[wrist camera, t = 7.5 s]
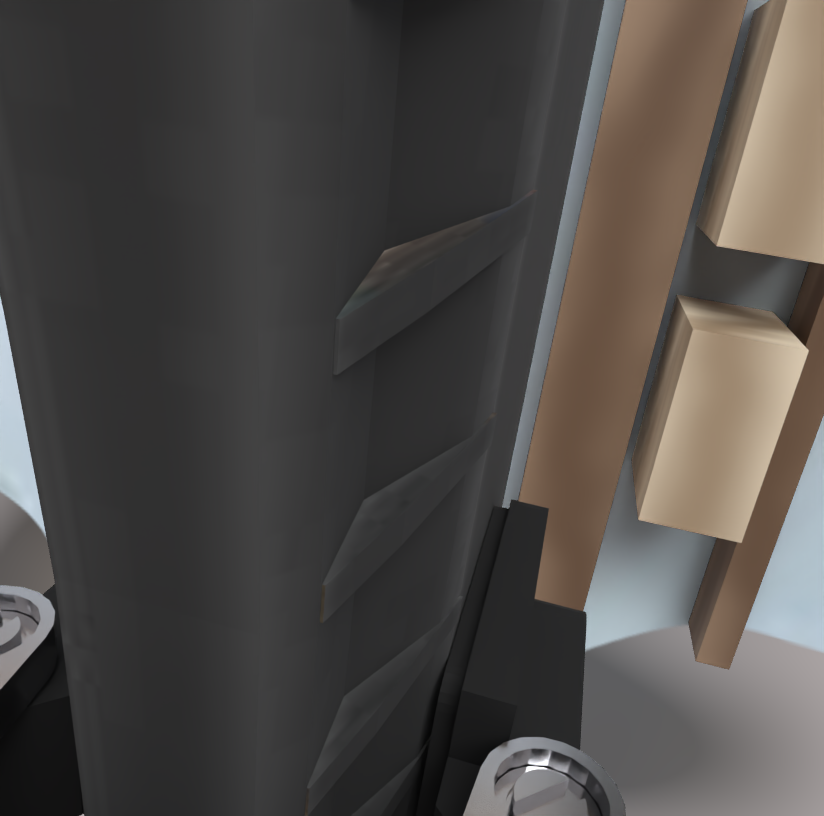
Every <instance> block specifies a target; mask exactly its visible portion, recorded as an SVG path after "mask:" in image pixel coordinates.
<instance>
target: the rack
mask: <svg viewBox="0 0 824 816" xmlns="http://www.w3.org/2000/svg"><path fill="white" fill-rule="evenodd" d="M747 1H748V0H626V2H625V6H624V11H623V16H622V20H621V25H620V30H619V34H618V39H617V43H616V48H615V53H614V57H613V62H612V67H611V71H610V76H609V81H608V85H607V90H606V95H605V99H604V104H603V109H602V113H601V118H600V122H599V127H598V132H597V136H596V141H595V146H594V150H593V155H592V160H591V164H590V169H589V174H588V178H587V183H586V187H585V192H584V197H583V201H582V206H581V211H580V215H579V220H578V225H577V229H576V234H575V239H574V243H573V248H572V253H571V257H570V262H569V266H568V271H567V276H566V280H565V285H564V290H563V294H562V299H561V304H560V308H559V313H558V318H557V322H556V327H555V331H554V336H553V341H552V345H551V350H550V355H549V359H548V364H547V369H546V373H545V378H544V383H543V387H542V392H541V396H540V401H539V406H538V410H537V415H536V420H535V424H534V429H533V434H532V438H531V443H530V448H529V452H528V457H527V462H526V466H525V471H524V475H523V480H522V485H521V489H520V494H519V499H518V501H520V502H524V503H528V504H533V505H537V506H541V507H545V508H549V512H548V518H547V524H546V530H545V537H544V543H543V549H542V555H541V562H540V568H539V574H538V580H537V587H536V593H535V599H537V600H541V601H545V602H549V603H553V604H557V605H561V606H564V607H568V608H572V609H576V610H580V611H583V609H584V606H585V602H586V598H587V595H588V591H589V587H590V583H591V580H592V576H593V572H594V569H595V565H596V561H597V557H598V554H599V550H600V546H601V543H602V539H603V535H604V531H605V528H606V524H607V520H608V517H609V513H610V509H611V506H612V502H613V498H614V494H615V491H616V487H617V483H618V480H619V476H620V472H621V468H622V465H623V461H624V457H625V454H626V450H627V446H628V442H629V439H630V435H631V431H632V428H633V424H634V420H635V416H636V413H637V409H638V405H639V402H640V398H641V394H642V390H643V387H644V383H645V379H646V376H647V372H648V368H649V364H650V361H651V357H652V353H653V350H654V346H655V342H656V338H657V335H658V331H659V327H660V324H661V320H662V316H663V312H664V309H665V305H666V301H667V298H668V294H669V290H670V287H671V283H672V279H673V275H674V272H675V268H676V264H677V261H678V257H679V253H680V249H681V246H682V242H683V238H684V235H685V231H686V227H687V223H688V220H689V216H690V212H691V209H692V205H693V201H694V197H695V194H696V190H697V186H698V183H699V179H700V175H701V171H702V168H703V164H704V160H705V157H706V153H707V149H708V145H709V142H710V138H711V134H712V131H713V127H714V123H715V119H716V116H717V112H718V108H719V105H720V101H721V97H722V94H723V90H724V86H725V82H726V79H727V75H728V71H729V68H730V64H731V60H732V56H733V53H734V49H735V45H736V42H737V38H738V34H739V30H740V27H741V23H742V19H743V16H744V12H745V8H746V4H747ZM788 329H789V330H790V331H791V332H792V333H793V334H794V335H795V336H796V337H797V338H798V339H799V340H800V342H801V343H802V344H803V345H804V346H805V347H806V348H807V349H808V350H809V352H808V355H807V358H806V360H805V363H804V366H803V369H802V372H801V375H800V378H799V380H798V383H797V386H796V389H795V392H794V395H793V398H792V400H791V403H790V406H789V409H788V412H787V415H786V417H785V420H784V423H783V426H782V429H781V432H780V435H779V437H778V440H777V443H776V446H775V449H774V452H773V454H772V457H771V460H770V463H769V466H768V469H767V472H766V474H765V477H764V480H763V483H762V486H761V489H760V491H759V494H758V497H757V500H756V503H755V506H754V509H753V511H752V514H751V517H750V520H749V523H748V526H747V528H746V531H745V534H744V537H743V540H742V543H739V542H735V541H730V540H726V539H721V538H717V539H716V542H715V545H714V548H713V551H712V554H711V557H710V560H709V563H708V566H707V569H706V572H705V575H704V578H703V580H702V583H701V586H700V589H699V592H698V595H697V598H696V601H695V604H694V607H693V610H692V613H691V616H690V619H689V622H688V623H689V628H690V633H691V639H692V644H693V649H694V654H695V660H696V661H697V662H701V663H705V664H709V665H713V666H717V667H721V668H725V669H729V668H730V665H731V663H732V660H733V657H734V655H735V652H736V649H737V646H738V644H739V641H740V638H741V636H742V633H743V630H744V628H745V625H746V622H747V620H748V617H749V614H750V612H751V609H752V606H753V604H754V601H755V598H756V595H757V593H758V590H759V587H760V585H761V582H762V579H763V577H764V574H765V571H766V569H767V566H768V563H769V560H770V558H771V555H772V552H773V550H774V547H775V544H776V542H777V539H778V536H779V534H780V531H781V528H782V525H783V523H784V520H785V517H786V515H787V512H788V509H789V507H790V504H791V501H792V499H793V496H794V493H795V491H796V488H797V485H798V482H799V480H800V477H801V474H802V472H803V469H804V466H805V464H806V461H807V458H808V456H809V453H810V450H811V447H812V445H813V442H814V439H815V437H816V434H817V431H818V429H819V426H820V423H821V421H822V418H823V415H824V264H820V263H814V262H809V265H808V268H807V271H806V274H805V277H804V280H803V283H802V286H801V289H800V292H799V295H798V298H797V301H796V304H795V307H794V310H793V313H792V316H791V319H790V322H789V325H788Z"/></svg>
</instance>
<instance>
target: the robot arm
mask: <svg viewBox="0 0 824 816" xmlns="http://www.w3.org/2000/svg"><path fill="white" fill-rule="evenodd" d="M548 512H549V508H545V507H541V506H537V505H533V504H528V503H524V502H520V501H516V500H511V503H510V507H509V509H506V508H502V507H498V506H494V509H493V513H492V516H491V519H490V522H489V526H488V529H487V532H486V536H485V539H484V542H483V546H482V549H481V552H480V556H479V559H478V562H477V566H476V569H475V572H474V576H473V579H472V582H471V586H470V589H469V592H468V596H467V599H466V602H465V606H464V609H463V612H462V616H461V619H460V622H459V626H458V629H457V632H456V636H455V639H454V642H453V646H452V649H451V652H450V656H449V659H448V662H447V666H446V669H445V673H444V677H443V681H442V685H441V689H440V693H439V698H438V702H437V707H436V712H435V717H434V722H433V728H432V733H431V738H430V743H429V749H428V754H427V759H426V764H425V770H424V775H423V780H422V785H421V791H420V796H419V801H418V806H417V812H416V816H626V812H625V804H624V802H623V799H622V797H621V794H620V792H619V790H618V787H617V785H616V784H615V783H614V781H613V780H612V779H611V777H610V776H609V775H608V774H607V772H606V771H605V770H604V768H603V767H601V766H600V765H599V764H598V763H596V762H595V761H594V760H593V759H592V758H590V757H589V756H588V755H587V754H585V753H584V752H582V751H580V738H581V719H582V718H581V717H582V698H583V697H582V696H583V679H584V658H585V640H586V612H584V611H580V610H576V609H572V608H568V607H564V606H561V605H557V604H553V603H549V602H545V601H541V600H537V599H535V593H536V587H537V580H538V574H539V568H540V562H541V555H542V549H543V543H544V537H545V530H546V524H547V518H548ZM82 814H84V809H83V801H82V792H81V784H80V775H79V768H78V760H77V752H76V744H75V736H74V728H73V720H72V713H71V705H70V697H69V689H68V681H67V673H66V666H65V658H64V650H63V642H62V634H61V626H60V618H59V611H58V603H57V595H56V587H55V585H53V586H52V587H51V588H50V589H49V590H47V591H46V592H45V593H44V594H43V595H41V594H40V593H38V592H36V591H33V590H30V589H27V588H24V587H16V586H4V585H1V586H0V816H79V815H82Z"/></svg>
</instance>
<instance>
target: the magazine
mask: <svg viewBox="0 0 824 816" xmlns="http://www.w3.org/2000/svg"><path fill="white" fill-rule="evenodd" d="M603 5H604V0H0V296H1V301H2V305H3V310H4V315H5V320H6V325H7V331H8V336H9V341H10V346H11V352H12V357H13V362H14V367H15V373H16V378H17V383H18V389H19V394H20V399H21V404H22V410H23V415H24V420H25V426H26V431H27V436H28V441H29V447H30V452H31V457H32V463H33V468H34V473H35V478H36V484H37V489H38V494H39V500H40V505H41V510H42V515H43V521H44V526H45V531H46V537H47V542H48V547H49V552H50V558H51V563H52V567H53V574H54V579H55V587H56V595H57V603H58V611H59V618H60V626H61V634H62V642H63V650H64V658H65V666H66V673H67V681H68V689H69V697H70V705H71V713H72V720H73V728H74V736H75V744H76V752H77V760H78V768H79V775H80V784H81V792H82V801H83V809H84V816H416V812H417V806H418V801H419V796H420V791H421V785H422V780H423V775H424V770H425V764H426V759H427V754H428V749H429V743H430V738H431V733H432V728H433V722H434V717H435V712H436V707H437V702H438V698H439V693H440V689H441V685H442V681H443V677H444V673H445V669H446V666H447V662H448V659H449V656H450V652H451V649H452V646H453V642H454V639H455V636H456V632H457V629H458V626H459V622H460V619H461V616H462V612H463V609H464V606H465V602H466V599H467V596H468V592H469V589H470V586H471V582H472V579H473V576H474V572H475V569H476V566H477V562H478V559H479V556H480V552H481V549H482V546H483V542H484V539H485V536H486V532H487V529H488V526H489V522H490V519H491V516H492V513H493V509H494V506H498V507H502V504H503V499H504V494H505V489H506V484H507V480H508V475H509V470H510V465H511V460H512V455H513V450H514V446H515V441H516V436H517V431H518V426H519V421H520V416H521V411H522V406H523V402H524V397H525V392H526V387H527V382H528V377H529V372H530V367H531V362H532V358H533V353H534V348H535V343H536V338H537V333H538V328H539V323H540V318H541V313H542V308H543V303H544V298H545V293H546V288H547V284H548V279H549V274H550V269H551V264H552V259H553V254H554V249H555V244H556V239H557V234H558V229H559V224H560V219H561V214H562V209H563V204H564V199H565V194H566V189H567V184H568V179H569V174H570V169H571V164H572V159H573V154H574V149H575V144H576V139H577V135H578V130H579V125H580V120H581V115H582V110H583V105H584V100H585V95H586V90H587V85H588V80H589V75H590V70H591V65H592V60H593V55H594V50H595V45H596V40H597V35H598V30H599V25H600V20H601V15H602V10H603Z"/></svg>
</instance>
